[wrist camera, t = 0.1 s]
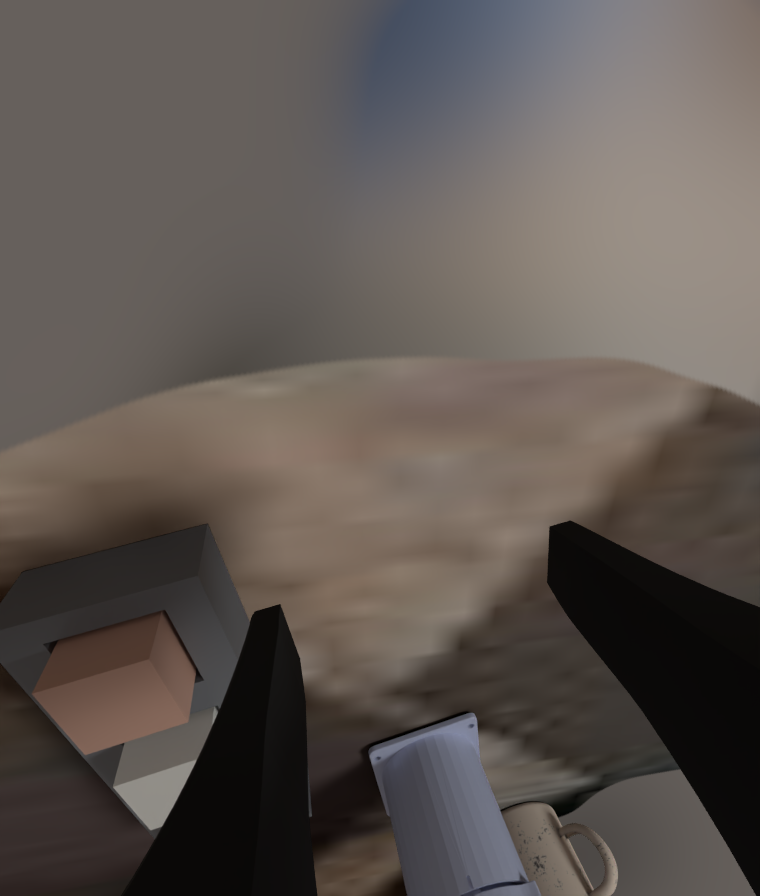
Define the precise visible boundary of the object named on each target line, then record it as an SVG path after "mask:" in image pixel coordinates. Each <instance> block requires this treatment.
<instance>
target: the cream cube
mask: <svg viewBox="0 0 760 896" xmlns="http://www.w3.org/2000/svg"><path fill="white" fill-rule="evenodd" d="M219 709H220V708H219V707H218V706H215V707H211V708H208V709H205V710H202V711H199V712H196V713H193V714H190V715H189V722H188V723H184V724H181V725H178V726H175V727H172V728H169V729H166V730H163V731H159V732H156V733H153V734H150V735H147V736H144V737H141V738H137V739H134V740H131V741H128V742H125V743H124V747H123V751H122V755H121V758H120V762H119V766H118V769H117V773H116V777H115V781H114V784H113V788H114V789H115V790H116V791H117V793H118V794H119V795H120V796H121V797H122V798H123V799H124V801H125V802H126V803H127V804H128V805H129V806H130V807H131V809H132V810H133V811H134V812H135V813H136V814H137V816H138V817H139V818H140V819H141V820H142V821H143V822H144V824H145V825H146V826H147V827H148V828H149V829H150V830H154V829H156V828H159V827H162V826H163V824H164V822H165V820H166V818H167V817H168V815H169V813H170V811H171V809H172V808H173V806H174V804H175V802H176V800H177V798H178V796H179V794H180V792H181V790H182V789H183V787H184V785H185V783H186V781H187V779H188V777H189V775H190V773H191V771H192V769H193V767H194V765H195V763H196V760H197V758H198V756H199V754H200V752H201V750H202V748H203V746H204V743H205V741H206V739H207V737H208V734H209V732H210V730H211V727H212V725H213V723H214V721H215V718H216V716H217V714H218V711H219Z"/></svg>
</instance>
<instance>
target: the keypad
mask: <svg viewBox="0 0 760 896" xmlns="http://www.w3.org/2000/svg"><path fill="white" fill-rule="evenodd" d="M162 610H166V612H167V614H168V616H169V618H170V619H171V621H172V623H173V625H174V627H175V628H176V630H177V632H178V634H179V636H180V638H181V639H182V641H183V643H184V645H185V647H186V648H187V650H188V652H189V654H190V656H191V658H192V659H193V661H194V663H195V665H196V667H197V669H196V675H195V682H194V689H193V695H192V702H191V709H190V714H193V713H196V712H199V711H202V710H205V709H208V708H211V707H215V706H218V707H219V708H220V707H221V704H222V702H223V699H224V697H225V694H226V691H227V689H228V686H229V684H230V681H231V678H232V676H233V673H234V670H235V668H236V665H237V662H238V659H239V656H240V653H241V650H242V647H243V644H244V641H245V638H246V635H247V631H248V628H249V625H250V622H249V619H248V617H247V615H246V612H245V610H244V608H243V605H242V603H241V601H240V598H239V596H238V594H237V591H236V589H235V587H234V584H233V582H232V580H231V577H230V575H229V573H228V570H227V568H226V566H225V563H224V561H223V559H222V556H221V554H220V552H219V549H218V547H217V545H216V542H215V540H214V538H213V535H212V533H211V531H210V528H209V526H208V524H205V525H201V526H197V527H193V528H189V529H185V530H182V531H178V532H174V533H170V534H166V535H162V536H159V537H155V538H151V539H147V540H143V541H139V542H136V543H132V544H128V545H124V546H120V547H116V548H112V549H109V550H105V551H101V552H97V553H93V554H89V555H86V556H82V557H78V558H74V559H70V560H66V561H63V562H59V563H55V564H51V565H47V566H43V567H40V568H36V569H32V570H28V571H24V572H22V573H21V574H20V576H19V577H18V579H17V580H16V582H15V583H14V584H13V586H12V587H11V589H10V590H9V592H8V593H7V594H6V596H5V597H4V599H3V600H2V602H1V603H0V663H1V664H2V666H3V667H4V668H5V669H6V670H7V671H8V672H9V674H10V675H11V676H12V677H13V678H14V679H15V680H16V682H17V683H18V684H19V685H20V686H21V687H22V688H23V689H24V691H25V692H26V693H27V694H28V695H29V696H30V697H31V699H32V700H33V701H34V702H35V703H36V704H37V705H38V707H39V708H40V709H41V710H42V711H43V712H44V713H45V715H46V716H47V717H48V718H49V719H50V720H51V721H52V723H53V724H54V725H55V726H56V727H57V728H58V729H59V730H60V732H61V733H62V734H63V735H64V736H65V737H66V738H67V740H68V741H69V742H70V743H71V744H72V745H73V746H74V748H75V749H76V750H77V751H78V752H79V753H80V754H81V756H82V757H83V758H84V759H85V760H86V761H87V762H88V764H89V765H90V766H91V767H92V768H93V769H94V770H95V771H96V773H97V774H98V775H99V776H100V777H101V778H102V779H103V781H104V782H105V783H106V784H107V785H108V786H109V787H110V789H111V790H112V791H113V792H114V793H115V794H116V795H117V797H118V798H119V799H120V800H121V801H122V802H123V803H124V805H125V806H126V807H127V808H128V809H129V810H130V811H131V812H132V814H133V815H134V816H135V817H136V818H137V819H138V820H139V822H140V823H141V824H142V825H143V826H144V827H145V828H146V830H147V831H148V832H149V833H150V834H151V835H152V836H153V838H154V839H155V838H156V836H157V835H158V833H159V831H160V829H161V827H159V828H156V829H154V830H150V829H149V828H148V827H147V826H146V825H145V824H144V822H143V821H142V820H141V819H140V818H139V817H138V816H137V814H136V813H135V812H134V811H133V810H132V809H131V807H130V806H129V805H128V804H127V803H126V802H125V801H124V799H123V798H122V797H121V796H120V795H119V794H118V793H117V791H116V790H115V789H114V788H113V784H114V781H115V777H116V773H117V769H118V766H119V762H120V758H121V755H122V751H123V747H124V743H122V744H119V745H115V746H112V747H109V748H106V749H103V750H100V751H97V752H93V753H90V754H87V755H84V754H83V752H82V751H81V750H80V749H79V748H78V747H77V745H76V744H75V743H74V742H73V741H72V740H71V739H70V737H69V736H68V735H67V734H66V733H65V732H64V731H63V729H62V728H61V727H60V726H59V725H58V724H57V723H56V721H55V720H54V719H53V718H52V717H51V716H50V714H49V713H48V712H47V711H46V710H45V709H44V708H43V706H42V705H41V704H40V703H39V702H38V701H37V700H36V698H35V697H34V696H33V695H32V692H33V690H34V688H35V686H36V684H37V682H38V680H39V678H40V676H41V674H42V672H43V670H44V668H45V666H46V664H47V662H48V660H49V658H50V656H51V654H52V652H53V650H54V648H55V646H56V644H57V642H58V640H59V639H63V638H66V637H70V636H73V635H77V634H80V633H84V632H88V631H91V630H95V629H98V628H102V627H105V626H109V625H112V624H116V623H119V622H123V621H126V620H130V619H133V618H137V617H141V616H144V615H148V614H151V613H155V612H158V611H162ZM307 764H308V762H307ZM308 799H309V817H311V816H312V810H311V798H310V786H309V774H308Z"/></svg>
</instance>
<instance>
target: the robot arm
mask: <svg viewBox="0 0 760 896" xmlns="http://www.w3.org/2000/svg"><path fill="white" fill-rule="evenodd" d="M547 583H548V585H549V587H550V588H551V590H552V592H553V593H554V595H555V597H556V598H557V600H558V602H559V603H560V605H561V606H562V608H563V609H564V611H565V613H566V614H567V616H568V617H569V619H570V620H571V621H572V622H573V624H574V625H575V626H576V628H577V629H578V630H579V631H580V633H581V634H582V635H583V636H584V638H585V639H586V640H587V642H588V643H589V644H590V645H591V647H592V648H593V649H594V650H595V652H596V653H597V654H598V655H599V656H600V658H601V659H602V660H603V661H604V663H605V664H606V665H607V666H608V668H609V669H610V670H611V671H612V673H613V674H614V675H615V676H616V678H617V679H618V680H619V681H620V683H621V684H622V685H623V686H624V688H625V689H626V690H627V691H628V693H629V694H630V695H631V697H632V698H633V699H634V701H635V702H636V703H637V705H638V706H639V707H640V709H641V710H642V711H643V713H644V714H645V716H646V717H647V719H648V720H649V722H650V723H651V725H652V726H653V728H654V729H655V731H656V732H657V734H658V735H659V737H660V738H661V740H662V741H663V743H664V744H665V746H666V747H667V749H668V750H669V752H670V753H671V755H672V756H673V758H674V760H675V761H676V763H677V764H678V766H679V767H680V769H681V771H682V772H683V774H684V775H685V777H686V778H687V780H688V781H689V783H690V785H691V786H692V788H693V789H694V791H695V793H696V794H697V796H698V797H699V799H700V801H701V802H702V804H703V806H704V807H705V809H706V811H707V812H708V814H709V816H710V817H711V819H712V820H713V822H714V824H715V826H716V827H717V829H718V830H719V832H720V834H721V835H722V837H723V839H724V840H725V842H726V844H727V845H728V847H729V848H730V851H731V852H732V854H733V856H734V858H735V859H736V861H737V863H738V865H739V866H740V868H741V870H742V872H743V873H744V875H745V877H746V879H747V880H748V882H749V884H750V886H751V887H752V889H753V890H754V893H755V894H756V896H760V607H758V606H755V605H752V604H750V603H747V602H744V601H742V600H739V599H736V598H734V597H731V596H728V595H726V594H724V593H721V592H719V591H716V590H714V589H711V588H709V587H707V586H704V585H702V584H700V583H697V582H695V581H693V580H691V579H688V578H686V577H684V576H682V575H679V574H677V573H675V572H673V571H671V570H669V569H666V568H664V567H662V566H660V565H658V564H656V563H654V562H652V561H650V560H648V559H646V558H644V557H642V556H640V555H638V554H636V553H634V552H632V551H630V550H628V549H626V548H624V547H622V546H620V545H618V544H616V543H614V542H612V541H610V540H608V539H606V538H604V537H602V536H600V535H598V534H597V533H595V532H593V531H591V530H589V529H587V528H585V527H583V526H581V525H579V524H577V523H575V522H572V521H567V522H564V523H560V524H557V525H553V526H550V530H549V553H548V576H547ZM368 753H369V757H370V760H371V764H372V767H373V770H374V774H375V777H376V780H377V784H378V787H379V790H380V793H381V797H382V800H383V803H384V807H385V810H386V813H387V815H388V816H390V818H391V823H392V827H393V832H394V837H395V841H396V846H397V851H398V855H399V860H400V864H401V869H402V874H403V878H404V883H405V888H406V892H407V896H541V894H540V891H539V889H538V886H537V884H536V882H535V881H534V880H533V881H530V882H529V880H528V878H527V875H526V873H525V871H524V868H523V866H522V863H521V861H520V858H519V856H518V853H517V851H516V848H515V846H514V843H513V841H512V839H511V836H510V834H509V831H508V829H507V826H506V824H505V821H504V819H503V816H502V814H501V812H500V809H499V807H498V804H497V802H496V799H495V797H494V794H493V792H492V789H491V787H490V784H489V782H488V780H487V777H486V775H485V772H484V770H483V767H482V765H481V762H480V753H479V741H478V729H477V719H476V717H475V714H474V713H467V714H464V715H461V716H458V717H456V718H453V719H450V720H447V721H444V722H441V723H438V724H435V725H432V726H429V727H427V728H424V729H421V730H418V731H415V732H412V733H409V734H406V735H403V736H400V737H398V738H395V739H392V740H389V741H386V742H383V743H380V744H377V745H374V746H372V747H371V748H370V749H369V751H368ZM121 896H317V888H316V879H315V870H314V861H313V852H312V843H311V833H310V819H309V799H308V764H307V729H306V701H305V693H304V685H303V677H302V670H301V663H300V658H299V655H298V652H297V649H296V647H295V644H294V641H293V638H292V636H291V633H290V630H289V627H288V624H287V622H286V619H285V616H284V613H283V611H282V608H281V605H280V604H279V605H276V606H272V607H269V608H265V609H262V610H258V611H255V612H254V614H253V615H252V617H251V621H250V625H249V628H248V631H247V635H246V638H245V641H244V644H243V647H242V650H241V653H240V656H239V659H238V662H237V665H236V668H235V670H234V673H233V676H232V678H231V681H230V684H229V686H228V689H227V691H226V694H225V697H224V699H223V702H222V704H221V707H220V709H219V711H218V714H217V716H216V718H215V721H214V723H213V725H212V727H211V730H210V732H209V734H208V737H207V739H206V741H205V743H204V746H203V748H202V750H201V752H200V754H199V756H198V758H197V760H196V763H195V765H194V767H193V769H192V771H191V773H190V775H189V777H188V779H187V781H186V783H185V785H184V787H183V789H182V790H181V792H180V794H179V796H178V798H177V800H176V802H175V804H174V806H173V808H172V809H171V811H170V813H169V815H168V817H167V818H166V820H165V822H164V824H163V826H162V827H161V829H160V831H159V833H158V835H157V836H156V838H155V840H154V842H153V844H152V845H151V847H150V849H149V851H148V852H147V854H146V856H145V857H144V859H143V861H142V863H141V864H140V866H139V868H138V869H137V871H136V873H135V874H134V876H133V878H132V879H131V881H130V882H129V884H128V885H127V887H126V889H125V890H124V892H123V893H122V895H121ZM549 896H550V895H549Z"/></svg>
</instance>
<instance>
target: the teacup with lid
mask: <svg viewBox="0 0 760 896" xmlns="http://www.w3.org/2000/svg"><path fill="white" fill-rule="evenodd" d="M501 814H502V816H503V819H504V821H505V824H506V826H507V829H508V831H509V834H510V836H511V839H512V841H513V843H514V846H515V848H516V851H517V853H518V856H519V858H520V861H521V863H522V866H523V868H524V871H525V873H526V875H527V878H528V880H529V882H530V881H533V880H534V881H535V882H536V884H537V886H538V889H539V891H540V894H541V896H549V895H550V896H611V895H612V893H613V892H614V891H615V888H616V885H617V880H618V870H617V865H616V862H615V859H614V857H613V855H612V853H611V851H610V849H609V848H608V846H607V845H606V843H605V842H604V841H603V840H602V838H601V837H599V835H598V834H596V833H595V832H594V831H593V830H591V829H590V828H588V827H586V826H584V825H581V824H577V823H572V824H567V825H565V826H563V827H562V825H561V823H560V821H559V819H558V817H557V815H556V813H555V811H554V810H553V808H552V807H551V806H549V805H548V804H545V803H542V802H527V803H522V804H518V805H515V806H512V807H510V808H507V809H505V810H503V811H501ZM576 834H582V835H584V836H585V837H587V838H588V839H589V840H590V841H591V842H592V843H593V844H594V845H595V847H596V848H597V849H598V851H599V853H600V854H601V857H602V859H603V861H604V865H605V876H604V880H603V882H602V883H601V885H600V886H599V887H597V888H596V889H593V887H592V885H591V883H590V881H589V879H588V877H587V875H586V873H585V871H584V869H583V867H582V865H581V863H580V861H579V859H578V857H577V855H576V853H575V851H574V849H573V847H572V845H571V843H570V841H569V839H568V838H570V837H572V836H574V835H576Z"/></svg>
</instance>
